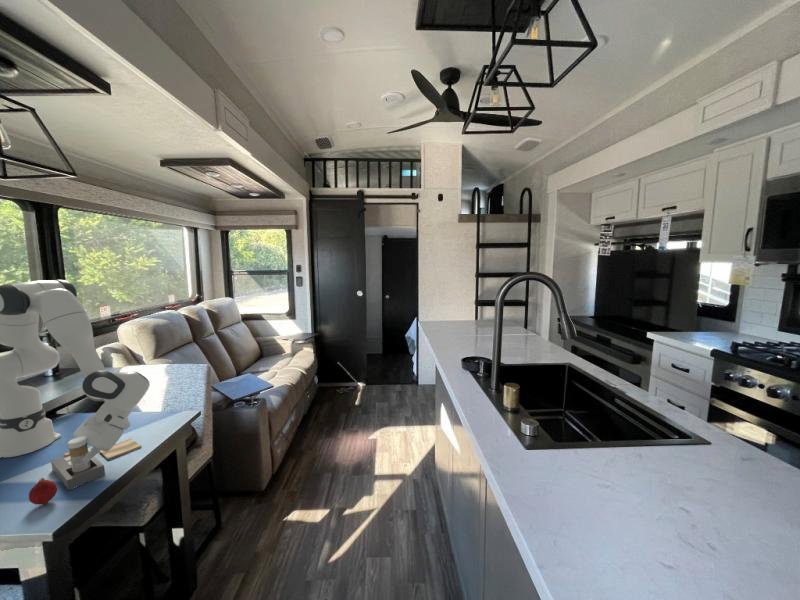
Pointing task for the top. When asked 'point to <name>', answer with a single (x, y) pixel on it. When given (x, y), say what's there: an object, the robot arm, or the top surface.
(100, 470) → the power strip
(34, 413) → the robot arm
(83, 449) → the sprinkles bottle
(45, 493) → the onion
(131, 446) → the wooden mat
